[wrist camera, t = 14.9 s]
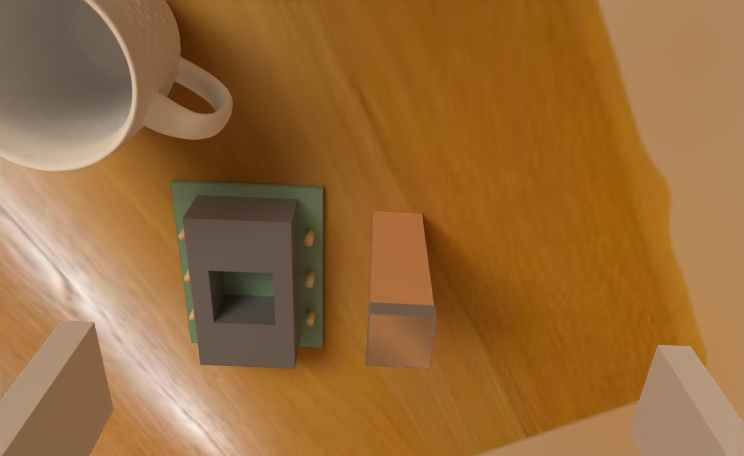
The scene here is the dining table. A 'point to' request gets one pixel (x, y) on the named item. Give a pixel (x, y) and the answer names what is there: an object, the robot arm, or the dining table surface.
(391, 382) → the dining table surface
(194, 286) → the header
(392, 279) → the plug
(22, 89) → the mug
